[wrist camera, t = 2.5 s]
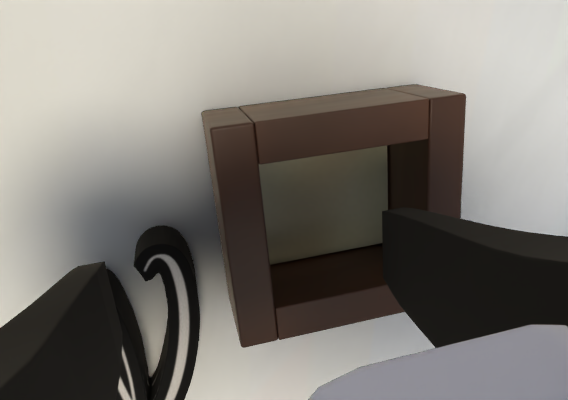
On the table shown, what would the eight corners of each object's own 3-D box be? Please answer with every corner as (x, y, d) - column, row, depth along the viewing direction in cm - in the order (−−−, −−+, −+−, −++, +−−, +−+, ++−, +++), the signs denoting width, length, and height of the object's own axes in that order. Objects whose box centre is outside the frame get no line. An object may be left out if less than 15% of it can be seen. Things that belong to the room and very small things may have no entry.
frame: (416, 83, 16) (467, 93, 14) (414, 261, 19) (457, 300, 16) (201, 111, 15) (208, 127, 12) (229, 299, 17) (241, 349, 15)
